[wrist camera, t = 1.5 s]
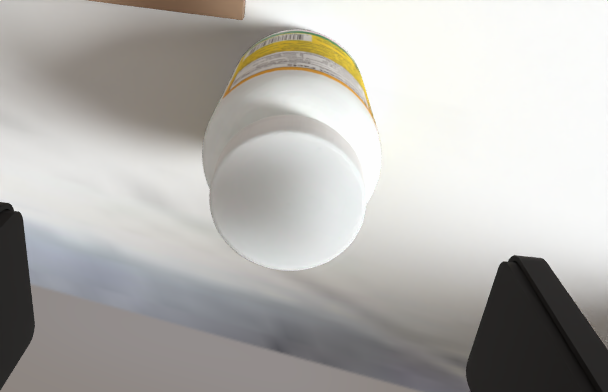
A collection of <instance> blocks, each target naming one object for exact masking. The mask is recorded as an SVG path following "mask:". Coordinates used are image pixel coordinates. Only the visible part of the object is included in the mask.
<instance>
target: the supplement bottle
mask: <svg viewBox="0 0 608 392" xmlns="http://www.w3.org/2000/svg"><path fill="white" fill-rule="evenodd" d="M202 158H203V168H204V173H205V177H206V181H207V183H208V186H209V188H210V195H209V196H210V209H211V214H212V218H213V221H214V223H215V226H216V228H217V230H218V232H219V233H220V235H221V236H222V237H223V239H224V240H225V242H226V243H227V244H228V245H229V246H230V247H231V248H232V249H233V250H234V251H236V252H237V253H238V254H239V255H241V256H242V257H244V258H245V259H247V260H249V261H251V262H253V263H255V264H258V265H260V266H263V267H267V268H271V269H277V270H285V271H297V270H304V269H309V268H313V267H316V266H319V265H322V264H324V263H326V262H328V261H330V260H332V259H333V258H335V257H336V256H338V255H339V254H340V253H342V252H343V251H344V250H345V249H346V248H347V247H348V246H349V245H350V244H351V243H352V241H353V240H354V239H355V237H356V236H357V234H358V232H359V230H360V228H361V226H362V224H363V220H364V216H365V211H366V204H367V202H368V201H369V199H370V198H371V196H372V194H373V192H374V190H375V187H376V185H377V182H378V178H379V174H380V168H381V144H380V139H379V133H378V130H377V127H376V123H375V120H374V117H373V114H372V110H371V107H370V104H369V100H368V97H367V93H366V90H365V87H364V83H363V80H362V77H361V74H360V71H359V69H358V67H357V65H356V63H355V61H354V60H353V58H352V57H351V55H350V54H349V53H348V52H347V51H346V50H345V49H344V48H343V47H342V46H341V45H340V44H338V43H337V42H335V41H334V40H332V39H331V38H329V37H327V36H325V35H322V34H320V33H316V32H313V31H308V30H298V29H295V30H285V31H280V32H277V33H274V34H271V35H269V36H267V37H265V38H263V39H261V40H259V41H258V42H257V43H255V44H254V45H253V46H252V47H250V48H249V49H248V50H247V52H246V53H245V54H244V55H243V57H242V58H241V60H240V61H239V63H238V65H237V66H236V68H235V71H234V73H233V75H232V77H231V79H230V81H229V83H228V85H227V87H226V89H225V91H224V93H223V95H222V97H221V99H220V101H219V103H218V105H217V107H216V109H215V111H214V113H213V115H212V117H211V119H210V121H209V123H208V126H207V129H206V132H205V136H204V140H203V150H202Z"/></svg>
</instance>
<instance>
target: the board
mask: <svg viewBox="0 0 608 392" xmlns="http://www.w3.org/2000/svg"><path fill="white" fill-rule="evenodd" d="M89 1H96V2H104V3H112V4H120V5H128V6H136V7H143V8H151V9H159V10H167V11H175V12H183V13H190V14H198V15H206V16H214V17H222V18H230V19H237V20H242V19H243V18H244V13H245V0H89Z"/></svg>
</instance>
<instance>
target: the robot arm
mask: <svg viewBox="0 0 608 392" xmlns="http://www.w3.org/2000/svg"><path fill="white" fill-rule="evenodd" d="M34 324H35V322H34V313H33V304H32V295H31V286H30V278H29V269H28V260H27V251H26V242H25V233H24V225H23V218H22V215H21V213H20V212H17V211H14V209H13V207H12V205H11V204H9V203H3V202H0V390H1V388H2V387H3V385H4V384H5V382H6V380H7V379H8V377H9V376H10V374H11V372H12V371H13V369H14V368H15V366H16V364H17V363H18V361H19V360H20V358H21V356H22V355H23V353H24V352H25V350H26V349H27V347H28V345H29V344H30V341H31V340H32V337H33V333H34V327H35V325H34ZM466 377H467V382H468V385H469V388H470V391H471V392H608V350H607V348H606V347H605V345H604V344H603V343H602V341H601V340H600V338H599V337H598V335H597V334H596V333H595V331H594V330H593V328H592V327H591V325H590V324H589V322H588V321H587V320H586V318H585V317H584V315H583V314H582V312H581V311H580V310H579V308H578V307H577V305H576V304H575V302H574V301H573V299H572V298H571V297H570V295H569V294H568V292H567V291H566V289H565V288H564V287H563V285H562V284H561V282H560V281H559V279H558V278H557V276H556V275H555V274H554V272H553V271H552V269H551V268H550V266H549V265H548V264H547V262H546V261H545V260H544V259H542V258H535V257H525V256H515V255H514V256H512V257H511V258H510V259H509V261H508V262H502V263H501V264H500V266H499V268H498V271H497V274H496V277H495V280H494V283H493V286H492V289H491V292H490V295H489V298H488V301H487V304H486V307H485V310H484V313H483V316H482V319H481V322H480V325H479V328H478V331H477V335H476V338H475V341H474V344H473V347H472V350H471V353H470V356H469V359H468V362H467V367H466Z"/></svg>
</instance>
